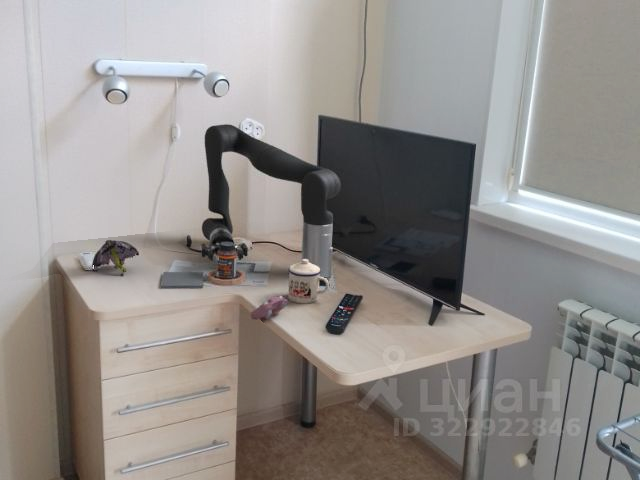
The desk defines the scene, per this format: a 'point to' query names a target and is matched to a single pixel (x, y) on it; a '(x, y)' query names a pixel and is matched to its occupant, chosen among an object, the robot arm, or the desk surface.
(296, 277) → the teacup with lid
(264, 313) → the video game controller
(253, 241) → the desk surface
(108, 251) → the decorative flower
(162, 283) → the grey mat
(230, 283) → the terracotta ring
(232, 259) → the supplement bottle
